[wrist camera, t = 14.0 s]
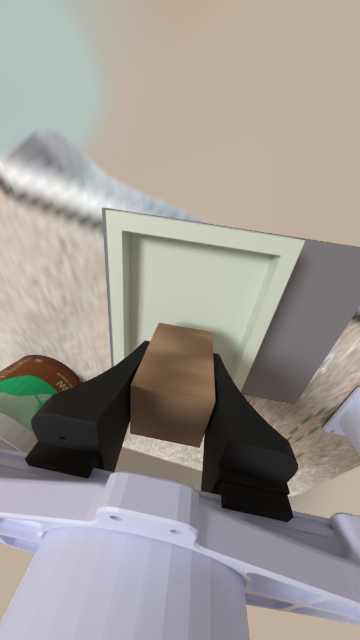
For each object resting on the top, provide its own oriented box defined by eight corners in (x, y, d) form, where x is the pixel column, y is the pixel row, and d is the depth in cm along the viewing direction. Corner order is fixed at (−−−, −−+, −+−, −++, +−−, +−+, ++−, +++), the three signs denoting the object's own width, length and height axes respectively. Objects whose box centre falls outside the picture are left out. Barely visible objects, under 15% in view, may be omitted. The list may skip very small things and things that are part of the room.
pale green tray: (283, 235, 14) (305, 240, 11) (226, 391, 22) (229, 418, 19) (126, 211, 14) (105, 209, 11) (127, 372, 23) (115, 395, 20)
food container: (107, 403, 27) (60, 491, 18) (75, 409, 29) (18, 493, 20) (51, 334, 22) (-50, 410, 13) (16, 347, 24) (-93, 421, 15)
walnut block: (212, 331, 14) (215, 401, 9) (201, 371, 16) (199, 447, 11) (158, 322, 14) (130, 385, 9) (155, 362, 16) (130, 433, 11)
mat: (389, 251, 14) (395, 252, 14) (292, 400, 22) (294, 404, 22) (104, 207, 15) (102, 207, 15) (113, 366, 23) (111, 368, 23)
